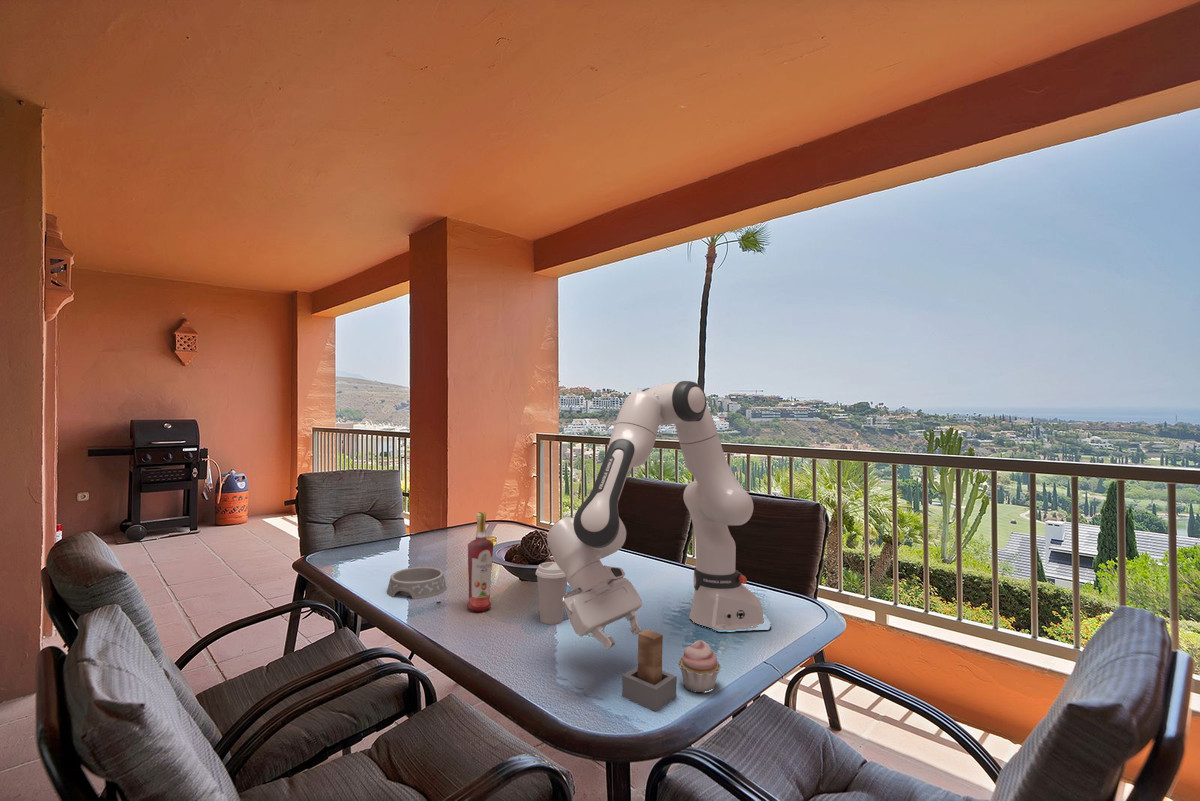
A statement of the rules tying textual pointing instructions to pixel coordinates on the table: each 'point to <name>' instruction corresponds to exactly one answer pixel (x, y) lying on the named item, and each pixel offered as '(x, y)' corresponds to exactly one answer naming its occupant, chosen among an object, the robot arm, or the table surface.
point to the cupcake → (699, 667)
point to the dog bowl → (417, 582)
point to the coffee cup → (551, 592)
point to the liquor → (480, 567)
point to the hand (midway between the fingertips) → (624, 640)
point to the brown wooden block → (650, 656)
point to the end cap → (649, 690)
